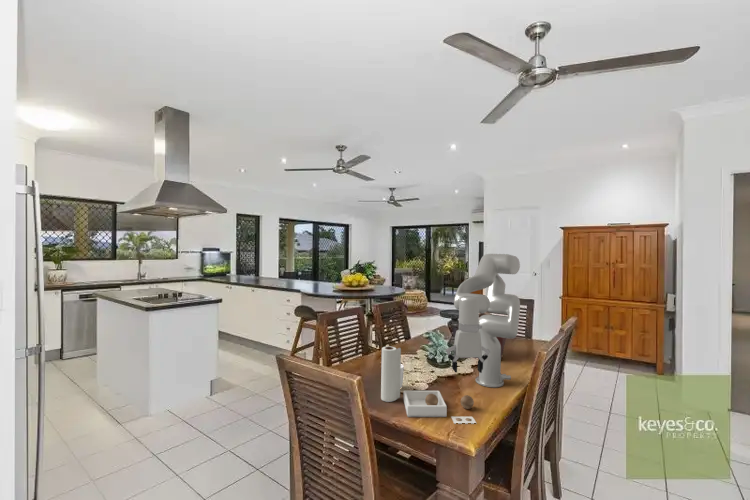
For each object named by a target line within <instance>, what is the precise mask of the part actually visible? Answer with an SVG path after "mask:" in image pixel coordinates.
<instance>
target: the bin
mask: <svg viewBox="0 0 750 500" xmlns="http://www.w3.org/2000/svg"><path fill="white" fill-rule="evenodd" d="M428 394H435V395H436V396H437V398H438V404H437V405H427V404H426V402H425V398H426V396H427V395H428ZM403 403H404V408H405V412H406V416H407V418H447V417H448V416H447V412H448V411H447V410H448V409H447V408H448V407H447V404H446V402H445V400H444V398H443V395H442V394H441V392H440V390H403Z"/></svg>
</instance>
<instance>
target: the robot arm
mask: <svg viewBox="0 0 750 500" xmlns="http://www.w3.org/2000/svg"><path fill="white" fill-rule="evenodd" d="M520 263H521V262H520V260H519V258H518V256H515V255H512V254H508V253H506V254H505V253H486V254H484V255H482V257H481V258H480V260H479V263H478V264H477V265H478V266H477V269H476V270H475V273H474V275H472V276H470V277H468V278H467V279H465V280H463V281H462V282H461V283H460V285H459V286H458V287H457V289H456V292H455V294H454V299H453V306H454V308H455V309H456V310H457V311H458V329H456V332H455V336H454V343H453V345H452V346H450V347H448V348H445V352H446V354H447V356H448V357H449V359H450V360H452V361H451V362H452V365H451V369H452V370H453V372H454V373H457V372H458V362H457V360H458V359H459V358H462V359H463V358H466V359H467V358H469V359H471V358H473V359H476V358H478V359H477V371H478V375H477V376H476V377H475V383H477V384H478V385H480V386H483V387H487V388H501V387H503V386H505V385H504V384H505V383H504V381H505V380H508V381H510V380H511V379H512V377H511V375H507V374H506V373H501V362H502V361H501V360H502V357H501V345H500V342H499V341H498V339H497V338H496V337H502V338H506V339H512V340H513V339H515V338H516V337H517V336H518V332H519V322H520V312H521V300H520V298H519V296H517V294H516V295H515V294H511V293H506V283H505V281H504V279H503V277H501V276H500V274H501V275H516V274H518V273H519V271H520V267H521V264H520ZM484 289H485V294H481V293H479V294H478V293H474V292H477V291H481V290H484ZM485 312H488V313H490V314H492V315H486V314H484V315H482V316H481V317H479V313H485ZM494 314H499V315H494ZM500 314H501V315H502V316H501V315H500ZM503 315H507V316H503ZM452 351H453V353H454V354H453V355H452V353H451V352H452Z"/></svg>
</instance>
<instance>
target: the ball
mask: <svg viewBox="0 0 750 500" xmlns="http://www.w3.org/2000/svg"><path fill="white" fill-rule="evenodd" d="M425 402H426V404H427V405H437V404H438V398H437V396H436V395H435V394H428V395H427V396H426V398H425Z"/></svg>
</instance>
